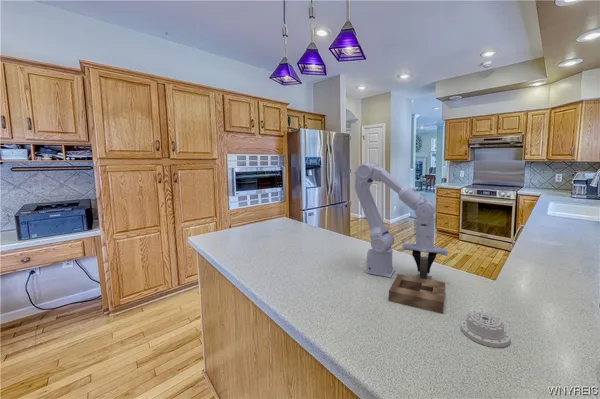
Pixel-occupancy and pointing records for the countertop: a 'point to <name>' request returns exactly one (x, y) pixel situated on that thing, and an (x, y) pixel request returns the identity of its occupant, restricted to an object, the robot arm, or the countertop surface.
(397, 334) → the countertop surface
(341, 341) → the countertop surface
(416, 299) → the keyhole plate
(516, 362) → the countertop surface
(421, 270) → the footed peg
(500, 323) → the mechanical component
